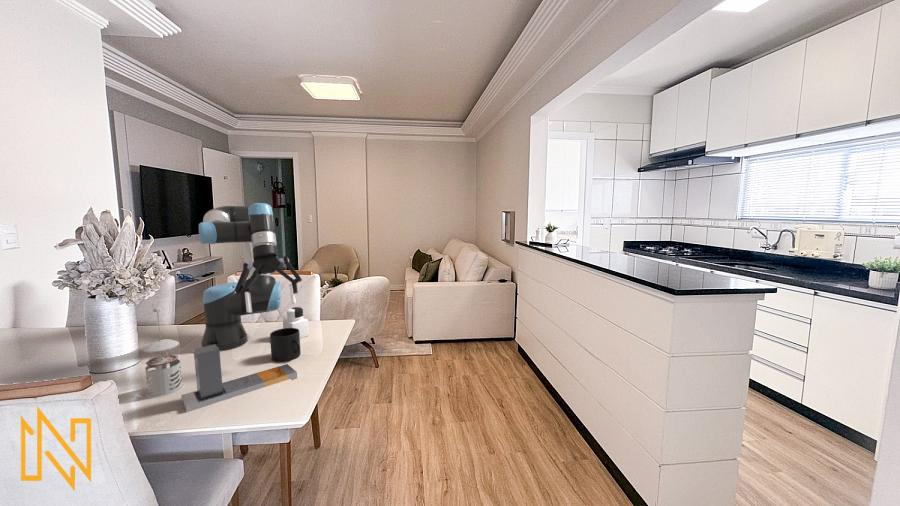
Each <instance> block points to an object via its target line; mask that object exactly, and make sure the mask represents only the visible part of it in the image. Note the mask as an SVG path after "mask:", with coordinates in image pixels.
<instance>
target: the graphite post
mask: <svg viewBox="0 0 900 506" xmlns="http://www.w3.org/2000/svg"><path fill="white" fill-rule="evenodd" d="M220 353H221V351H219V348H218V347H217V346H216V345H215V344H214V345H210V346H205V347H202V346H201V347H197V348H193V358H194V369H195V381H196V391H197V392H198V399H199V401H202V400H206V399H209V398H212V397H215V396H218V395H221V394H223V387H222V383H223V378H222V377H223V375H222V366H221V365H222V363H221V354H220Z"/></svg>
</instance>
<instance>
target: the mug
mask: <svg viewBox="0 0 900 506" xmlns="http://www.w3.org/2000/svg"><path fill="white" fill-rule="evenodd" d="M300 339H301V338H300V334H299V329H296V328H283V327H282V328H279V329H276V330H273V331H271V332H270V334H269V341H270V355H271V359H272V361H274V362H281V363H283V362H288V361H289V362H290V361H292V360H296V359H297V358H299V357H300V355H301V340H300Z"/></svg>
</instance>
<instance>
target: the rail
mask: <svg viewBox="0 0 900 506" xmlns="http://www.w3.org/2000/svg"><path fill="white" fill-rule="evenodd" d="M295 379H298V372H297V371H296V370H295V369H294V368H293V367H292V366H291V365H290V364H288V363H285V364H282V365H279V366H276V367H272V368H269V369H266V370H262V371H258V372H255V373H252V374H250V375H249V374H248V375H245V376H241V377H238V378H235V379H230V380H227V381H224V382H222V387H223V394H221V395H218V396H215V397H212V398H209V399H206V400H202V401H199V399H198V392H197V390H194V391H190V392H187V393H184V394H181V395H180V400H181V404H182V405H183V408H184V411H185V413H189V412H192V411H195V410H199V409H201V408H205V407H207V406H211V405H214V404H217V403H220V402H223V401H226V400H227V401H228V400H229V399H232V398H236V397H238V396H241V395H245V394H247V393H248V394H249V393H251V392H255V391H257V390H260V389H264V388H267V387H269V386H273V385H275V384H279V383H283V382H285V381H288V380H295Z"/></svg>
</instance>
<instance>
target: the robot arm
mask: <svg viewBox="0 0 900 506" xmlns="http://www.w3.org/2000/svg"><path fill="white" fill-rule="evenodd" d="M198 234H199V241H200V243H201V244H205V245H207V244H208V245H214V244H229V243H230V244H231V243H234V244H235V243H242V246H243V254H244V261H245V262H244V263H243V265H242V272H241V274H240V277H239V279H238V281H237V282H225V283H221V284H216V285H214V286H210V287H208V288H207V289H205V290H204V291H203V295H202V298H203V299H202V304H203V309H204V312H203V313H204V321H205V322H204V323H205V325H204V326H205V327H204V328H205V329H204V333H203V336H202V339H201V343H200V344H201V347H205V346H210V345H214V344H215V345H216V346H217V347H218V348H219V351H220V352H222V351H226V350H227V351H228V350H233V349H235V348H238V347H241V346H244V345H245V344H246V343H247V342H248V333H247V331H246V329H245V327H244V325H243V323H242V317H241V316H247V315H255V314H264V313H269V312H274V311H278V310H279V309H280V307H281V298H282V297H281V296H282V288H281V287H282V285H281V282H280V281H276V278H275V277H274V276H273V275H271V274H274V273H275V272H277V273H278V274H280V275H281V276H282V277H284V278H285V279H286V280H288V281H289V282H290V283H289V284H288V285H289V287H288V288H289V294H290V301H291V304H293V305H296V304H297V301H296V294H298V293H299V292H298V283H300V282H302V281H303V279H302V277H301V276H300V274H299V273H298V272H297V271H296V269H295V268H294V267H293V265H292V264H291V262H290V259H289V257H288V256H286V255H284V256H283V257H281V258H279V253H278V246H277V243H278V242H277V236H276V228H275V221H274V213H273V208H272V206H271V205H270V204H269V203H265V202H257V203H256V202H255V203H252V204H250V205H222V206H218V207H216V208H212V209H210V210H208V211H207V212H206V213H205V214H204V216H203V219H202V222H200V223H198ZM281 263H282V264H283V265H285V266H286V267H287V268H288V270H289V271H290V272H291V274H292V275H293V276H294V277H295V279H294V278H292V277H291V276H290V275H289V274H288V273H286V272H285V271H283V270H282V269H281V268H280V267H279V266H280V265H281Z"/></svg>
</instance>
